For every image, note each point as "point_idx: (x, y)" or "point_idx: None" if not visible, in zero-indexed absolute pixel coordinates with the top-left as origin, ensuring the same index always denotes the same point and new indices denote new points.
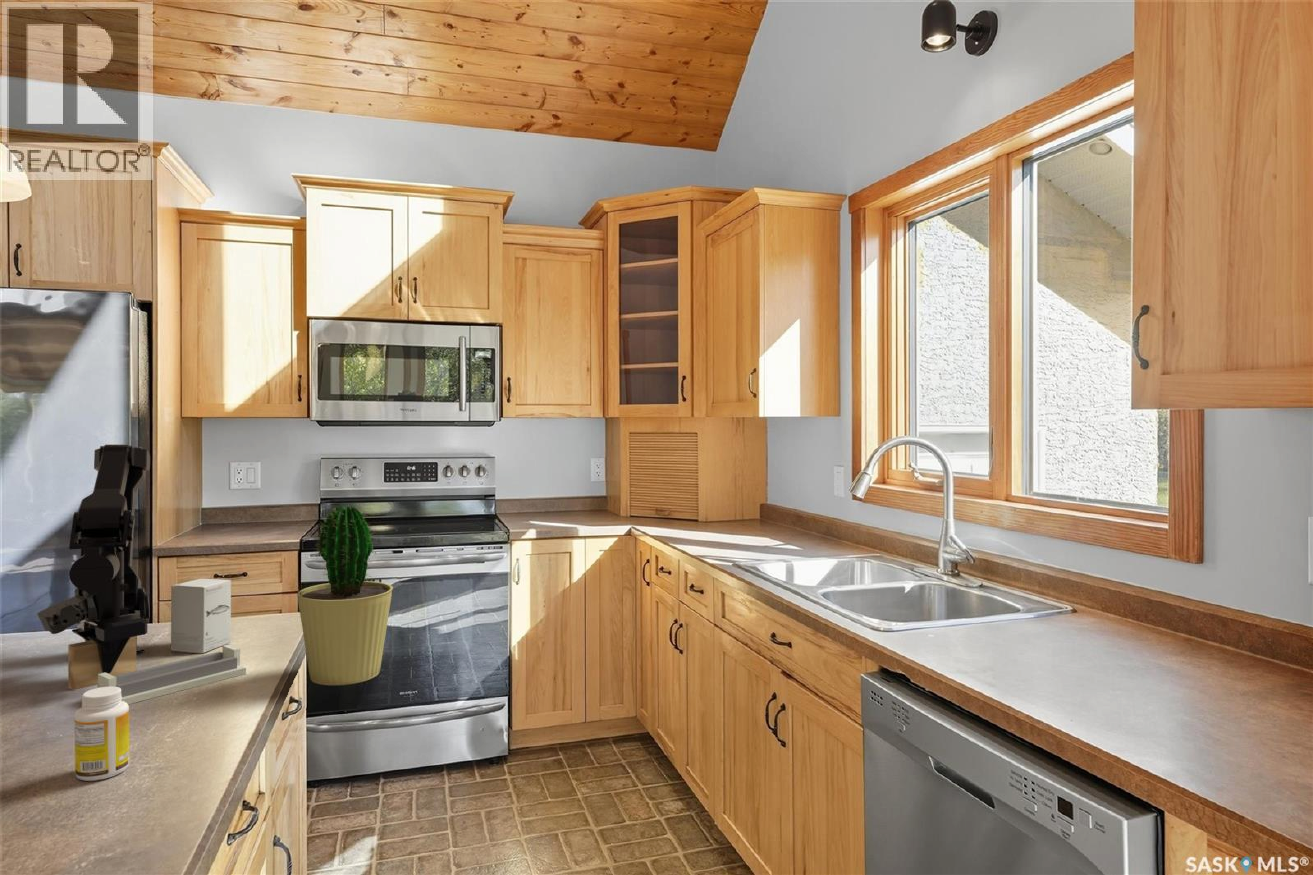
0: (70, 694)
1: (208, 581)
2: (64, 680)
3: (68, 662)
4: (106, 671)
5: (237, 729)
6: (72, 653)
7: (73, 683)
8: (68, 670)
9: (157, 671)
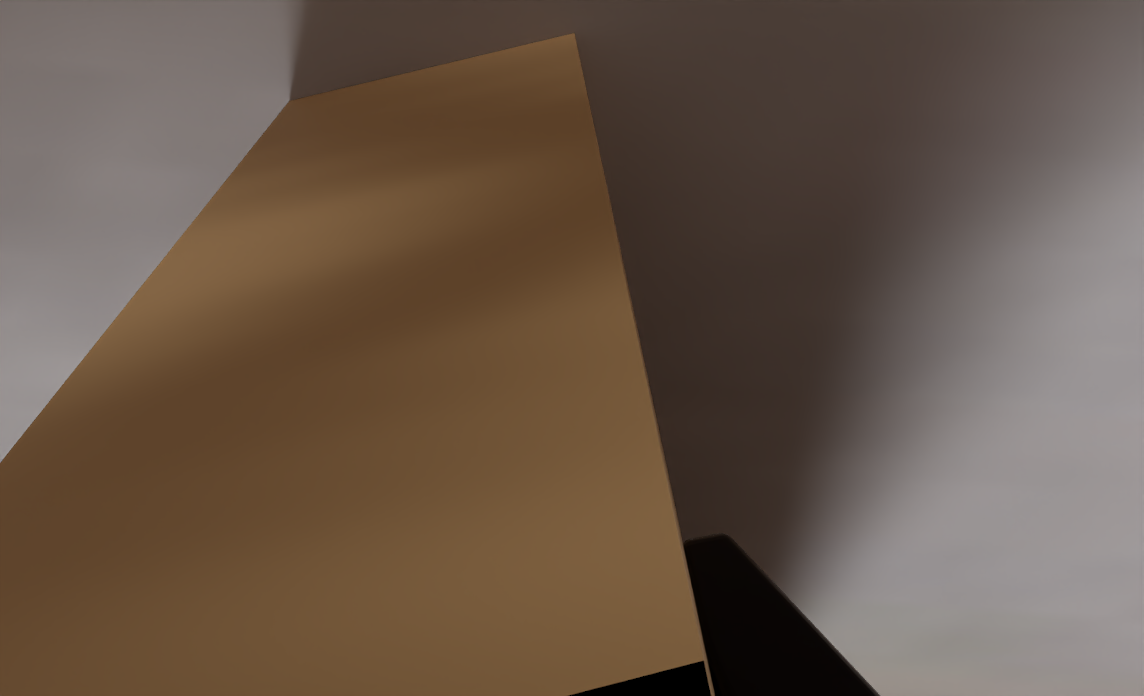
0: (25, 15)
1: None
2: (1113, 19)
3: (611, 242)
4: None
5: None
6: (58, 639)
7: (300, 132)
8: (586, 144)
9: None
